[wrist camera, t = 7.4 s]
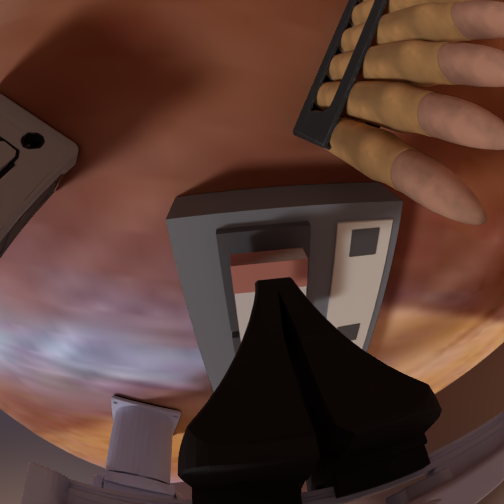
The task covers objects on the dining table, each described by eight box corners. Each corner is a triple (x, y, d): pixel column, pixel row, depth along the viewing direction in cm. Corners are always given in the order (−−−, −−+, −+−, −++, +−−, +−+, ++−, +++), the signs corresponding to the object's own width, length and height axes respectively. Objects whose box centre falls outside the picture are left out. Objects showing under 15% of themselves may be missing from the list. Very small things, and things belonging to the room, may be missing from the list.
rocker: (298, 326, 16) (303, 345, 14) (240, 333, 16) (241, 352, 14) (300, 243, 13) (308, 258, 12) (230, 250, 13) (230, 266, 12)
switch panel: (337, 387, 28) (345, 413, 25) (225, 401, 27) (225, 430, 24) (378, 182, 16) (407, 204, 13) (175, 196, 16) (163, 224, 13)
